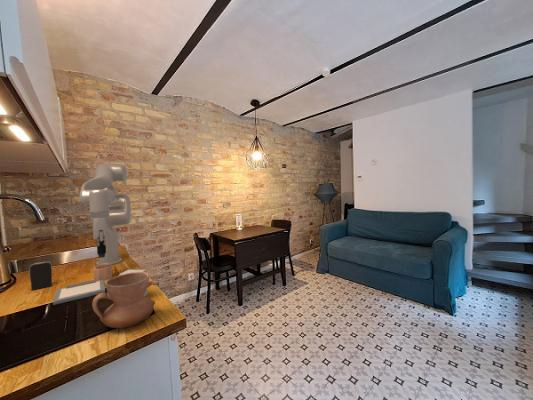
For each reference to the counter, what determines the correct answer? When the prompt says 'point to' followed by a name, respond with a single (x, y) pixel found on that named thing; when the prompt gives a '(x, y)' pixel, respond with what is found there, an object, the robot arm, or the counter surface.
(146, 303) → the ceramic jug
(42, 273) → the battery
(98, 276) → the pen cup
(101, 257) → the marker
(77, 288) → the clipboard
